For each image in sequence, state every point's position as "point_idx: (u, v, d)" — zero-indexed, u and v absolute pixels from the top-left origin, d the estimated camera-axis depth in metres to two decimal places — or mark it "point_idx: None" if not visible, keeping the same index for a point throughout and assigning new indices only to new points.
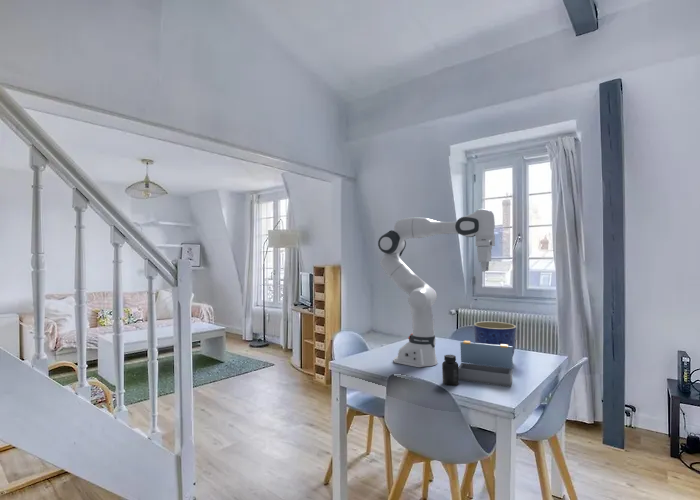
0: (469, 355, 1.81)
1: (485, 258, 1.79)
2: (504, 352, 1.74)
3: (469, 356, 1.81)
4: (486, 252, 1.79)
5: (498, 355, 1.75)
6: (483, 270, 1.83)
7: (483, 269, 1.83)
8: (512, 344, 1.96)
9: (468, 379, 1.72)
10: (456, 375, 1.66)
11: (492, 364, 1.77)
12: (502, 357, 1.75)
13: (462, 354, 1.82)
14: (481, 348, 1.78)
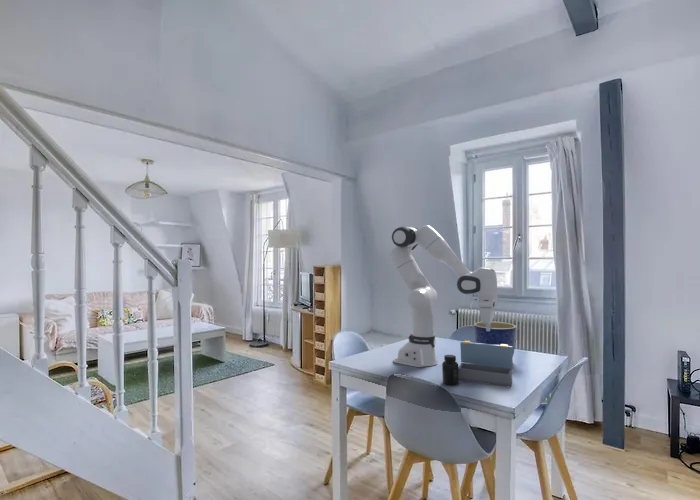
0: (469, 355, 1.81)
1: (488, 321, 1.75)
2: (504, 352, 1.74)
3: (469, 356, 1.81)
4: (489, 314, 1.75)
5: (498, 355, 1.75)
6: (487, 330, 1.83)
7: (487, 329, 1.83)
8: (512, 344, 1.96)
9: (468, 379, 1.72)
10: (456, 375, 1.66)
11: (492, 364, 1.77)
12: (502, 357, 1.75)
13: (462, 354, 1.82)
14: (481, 348, 1.78)
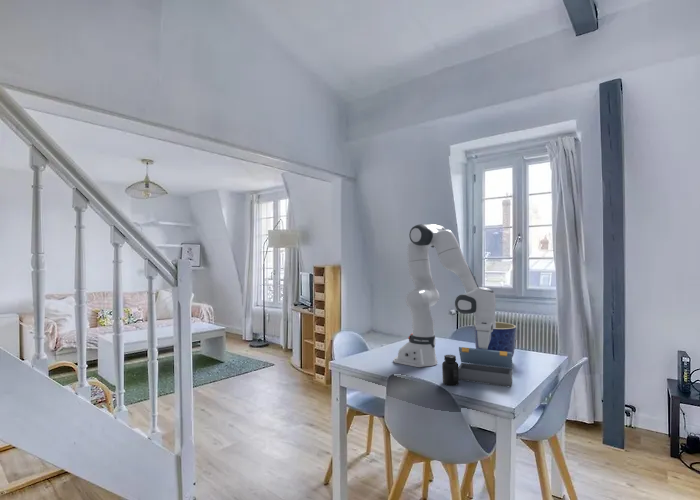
0: (469, 358, 1.80)
1: (486, 345, 1.67)
2: (503, 357, 1.71)
3: (468, 358, 1.80)
4: (487, 338, 1.67)
5: (498, 359, 1.73)
6: None
7: None
8: (512, 344, 1.96)
9: (468, 379, 1.72)
10: (456, 375, 1.66)
11: (492, 364, 1.77)
12: (502, 360, 1.73)
13: (461, 356, 1.81)
14: (480, 353, 1.75)
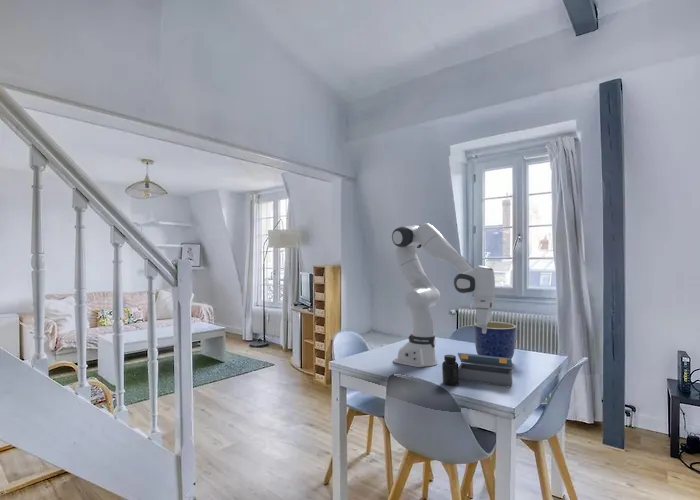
0: (468, 360, 1.79)
1: (484, 322, 1.65)
2: None
3: (468, 360, 1.79)
4: (485, 316, 1.65)
5: (497, 362, 1.72)
6: (483, 332, 1.73)
7: (483, 331, 1.73)
8: (512, 344, 1.96)
9: (468, 379, 1.72)
10: (456, 375, 1.66)
11: (492, 365, 1.77)
12: (501, 363, 1.72)
13: (461, 359, 1.80)
14: (480, 358, 1.73)
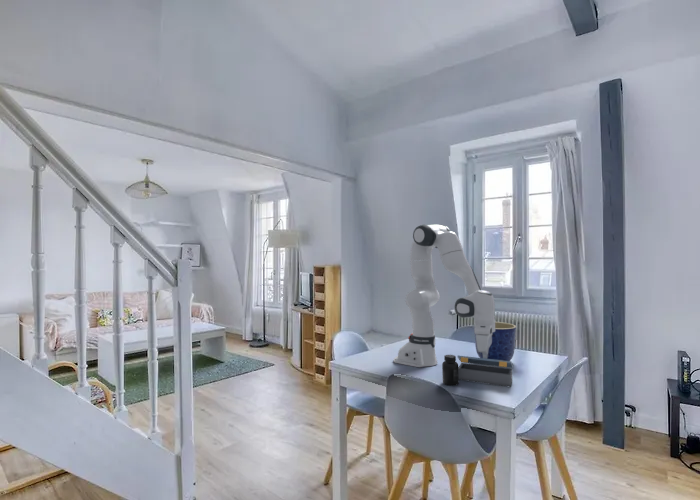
0: (468, 361, 1.79)
1: (485, 349, 1.64)
2: None
3: (468, 361, 1.79)
4: (486, 342, 1.64)
5: (497, 364, 1.72)
6: (484, 357, 1.72)
7: (484, 356, 1.72)
8: (512, 344, 1.96)
9: (468, 379, 1.72)
10: (456, 375, 1.66)
11: (492, 365, 1.77)
12: None
13: (461, 360, 1.80)
14: (479, 360, 1.73)
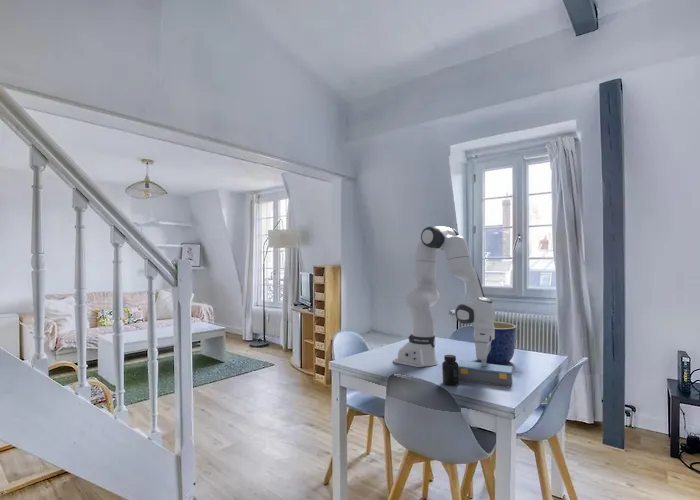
0: None
1: (484, 356, 1.65)
2: None
3: None
4: (485, 350, 1.65)
5: None
6: (483, 364, 1.73)
7: (483, 363, 1.73)
8: (512, 344, 1.96)
9: (468, 379, 1.72)
10: (456, 375, 1.66)
11: None
12: None
13: None
14: None
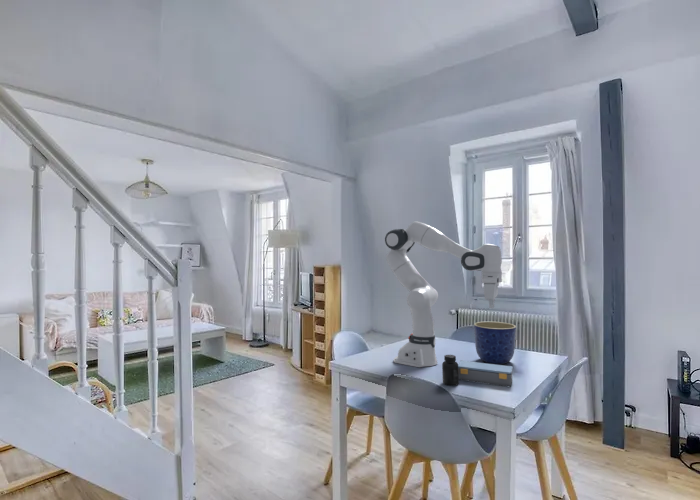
0: None
1: (492, 296, 1.73)
2: None
3: None
4: (493, 290, 1.73)
5: None
6: (491, 307, 1.82)
7: (491, 306, 1.82)
8: (512, 344, 1.96)
9: (468, 379, 1.72)
10: (456, 375, 1.66)
11: None
12: None
13: None
14: None
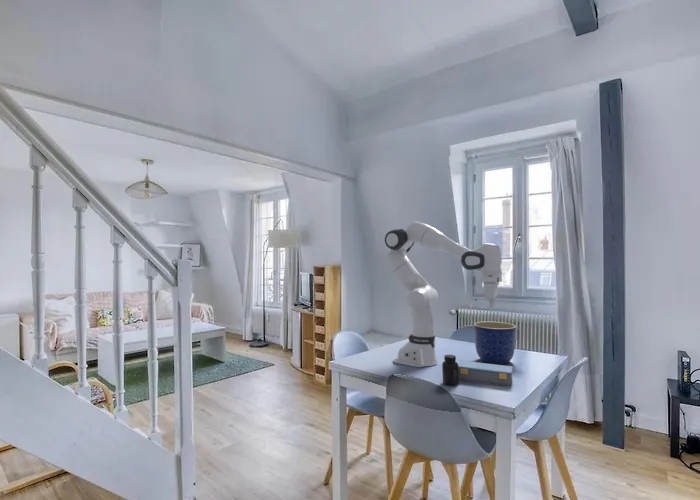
0: None
1: (492, 296, 1.74)
2: None
3: None
4: (493, 289, 1.74)
5: None
6: (491, 306, 1.82)
7: (491, 305, 1.82)
8: (512, 344, 1.96)
9: (468, 379, 1.72)
10: (456, 375, 1.66)
11: None
12: None
13: None
14: None
